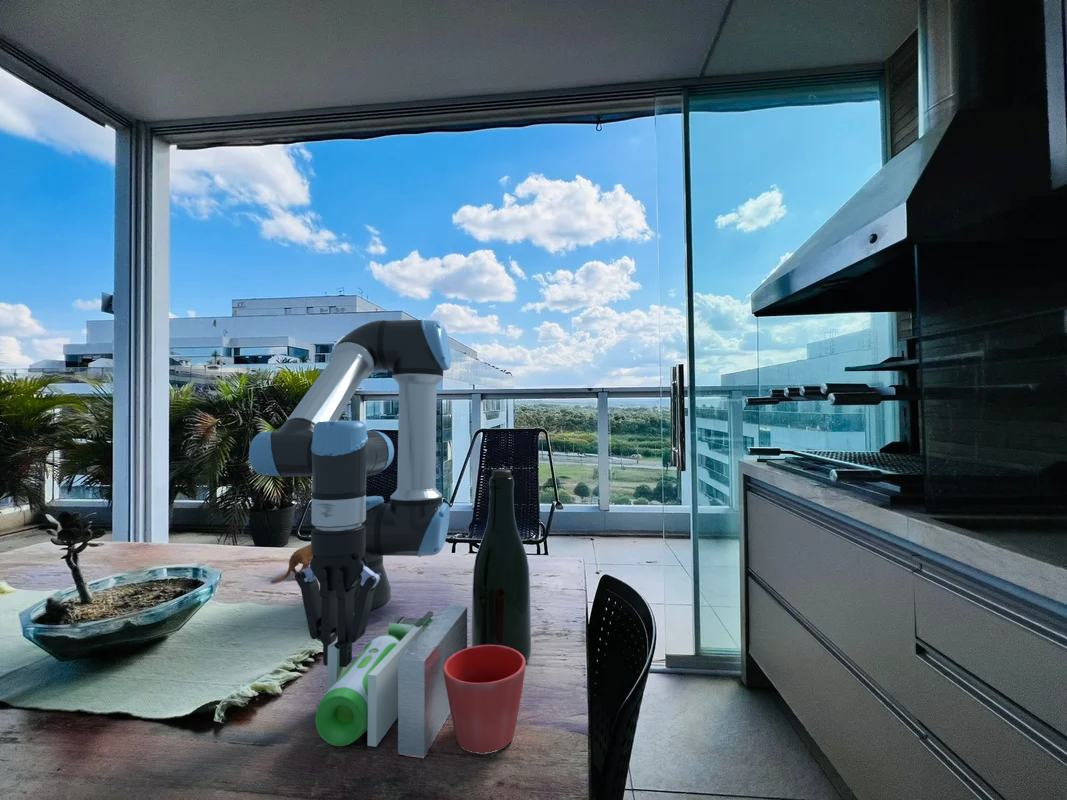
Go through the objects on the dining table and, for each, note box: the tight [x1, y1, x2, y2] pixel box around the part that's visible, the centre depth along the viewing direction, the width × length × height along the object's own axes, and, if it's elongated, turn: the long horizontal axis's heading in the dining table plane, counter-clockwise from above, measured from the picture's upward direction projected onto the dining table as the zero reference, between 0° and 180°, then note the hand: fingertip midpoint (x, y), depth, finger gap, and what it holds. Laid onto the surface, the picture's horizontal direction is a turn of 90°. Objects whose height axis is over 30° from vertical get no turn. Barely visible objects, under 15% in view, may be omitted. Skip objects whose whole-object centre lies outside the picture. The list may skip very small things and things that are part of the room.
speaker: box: [314, 634, 401, 747], centre depth 72 cm, size 18×7×8 cm, turn 176°
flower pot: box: [443, 645, 527, 753], centre depth 66 cm, size 11×11×10 cm
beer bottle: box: [470, 468, 532, 664], centre depth 87 cm, size 10×10×33 cm
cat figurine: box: [270, 543, 313, 584], centre depth 131 cm, size 18×7×14 cm, turn 143°
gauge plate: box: [367, 610, 434, 748], centre depth 73 cm, size 1×20×9 cm, turn 170°
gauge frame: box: [387, 605, 468, 756], centre depth 73 cm, size 14×20×12 cm
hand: (337, 687), depth 72 cm, fingers closed
